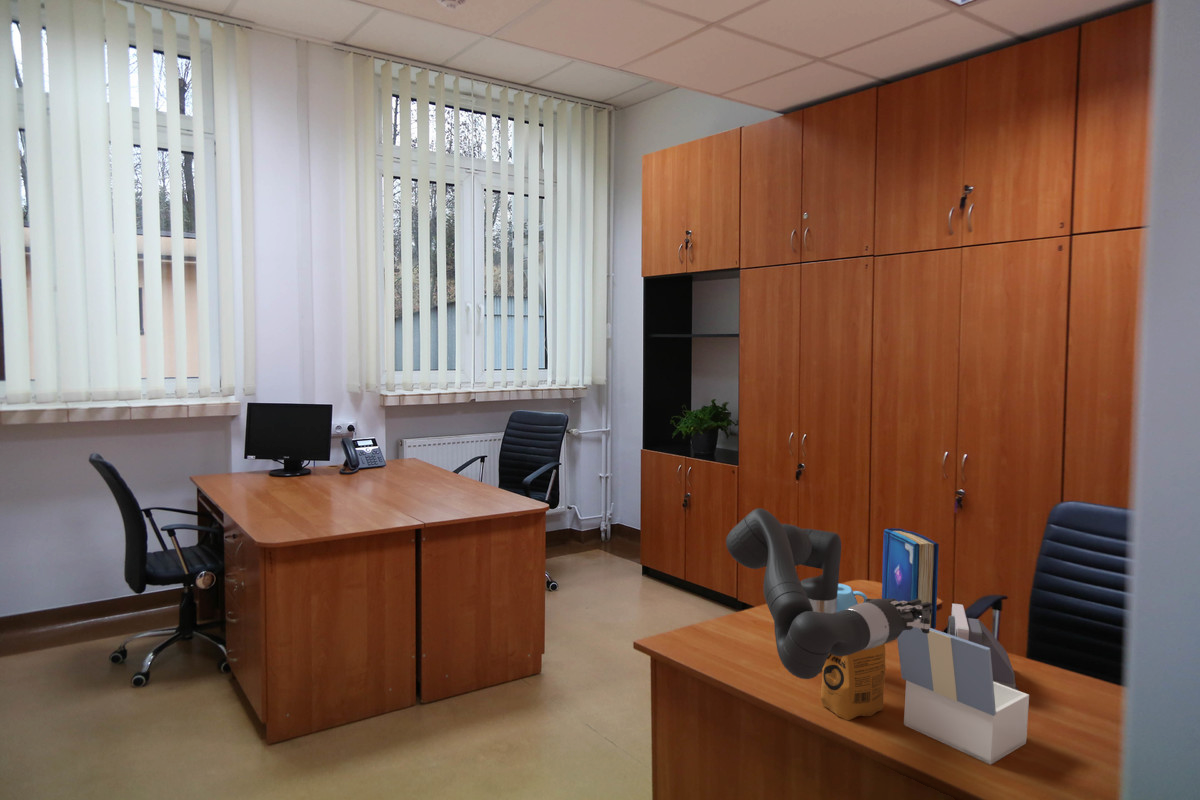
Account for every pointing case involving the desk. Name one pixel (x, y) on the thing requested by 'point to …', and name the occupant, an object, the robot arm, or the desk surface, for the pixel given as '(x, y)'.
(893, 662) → the desk surface
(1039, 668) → the desk surface
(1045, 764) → the desk surface
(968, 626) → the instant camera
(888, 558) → the book
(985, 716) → the storage box
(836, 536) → the robot arm
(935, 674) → the lid
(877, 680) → the coffee package
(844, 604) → the decorative pot
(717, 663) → the desk surface
